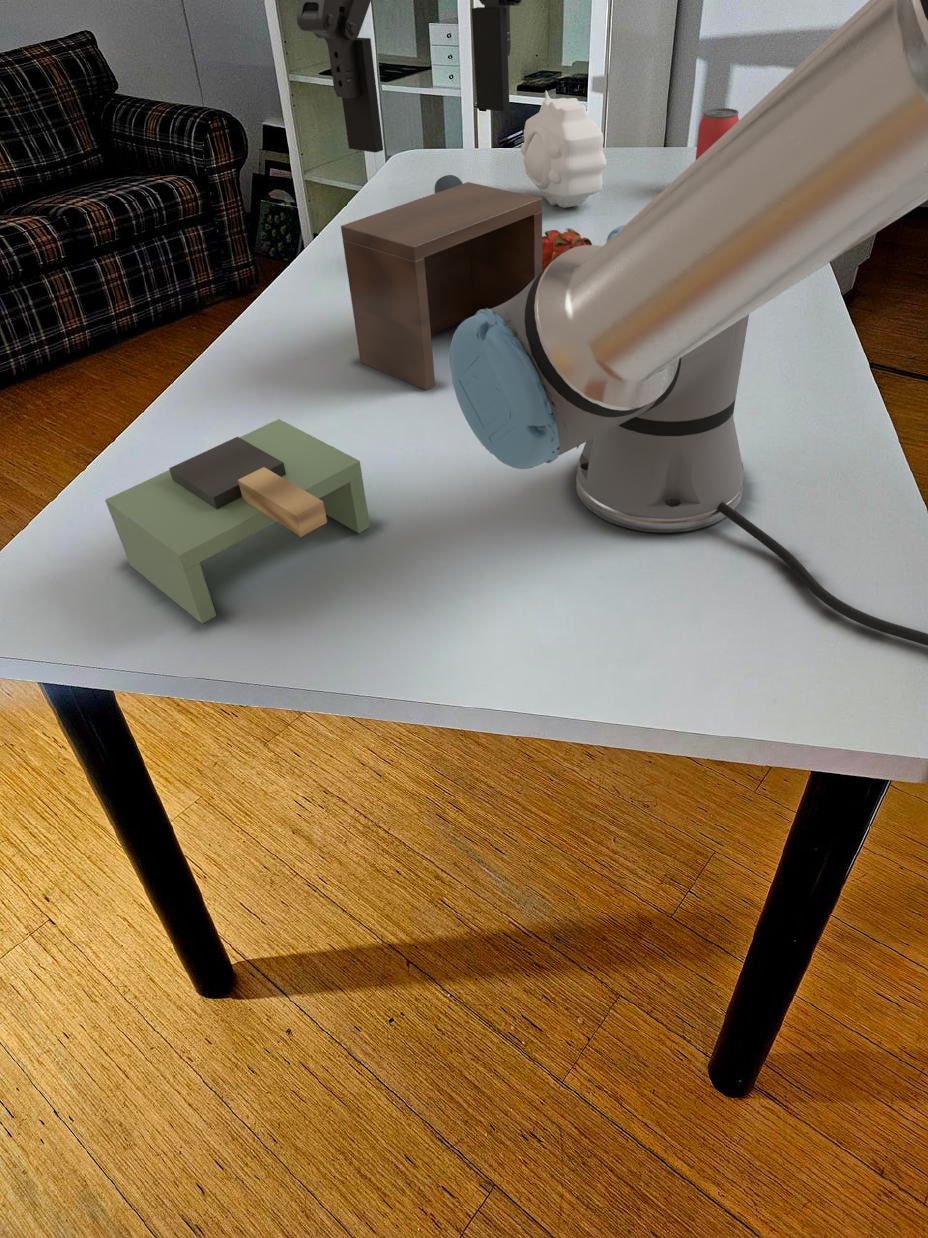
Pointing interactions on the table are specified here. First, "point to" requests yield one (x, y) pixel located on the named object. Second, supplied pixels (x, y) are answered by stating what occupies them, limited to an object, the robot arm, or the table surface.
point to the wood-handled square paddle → (250, 484)
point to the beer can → (714, 127)
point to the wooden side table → (436, 270)
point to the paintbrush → (447, 183)
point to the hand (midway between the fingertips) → (433, 128)
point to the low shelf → (226, 514)
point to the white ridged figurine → (563, 152)
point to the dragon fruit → (560, 244)
